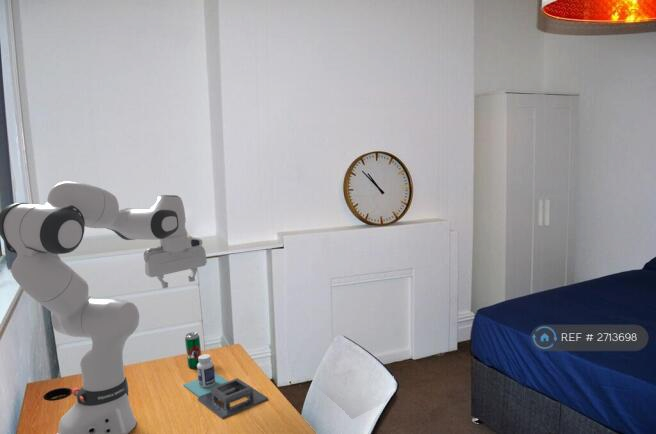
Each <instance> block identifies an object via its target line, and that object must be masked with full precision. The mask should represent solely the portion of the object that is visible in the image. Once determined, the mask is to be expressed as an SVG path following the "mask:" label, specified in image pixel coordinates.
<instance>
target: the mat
mask: <svg viewBox="0 0 656 434" xmlns="http://www.w3.org/2000/svg"><path fill="white" fill-rule="evenodd" d="M214 374H215V384H214V385H213V386H210V387H200V386H199V381H198V378H197V379H194V380H192V381H189V382H186V383H183V384H182V385H183V388H186V389H187V390H189V392H191V393H192V394H193V395H195V396H196V397H197V398H200V397H203V396H205V395H208V394H211V388H213V387H215V386H218V385H221V384H223V383H226V382H229V381H230V380H227V379H226V378H224V377H223V376H222V375H220V374H218V373H217V372H214Z"/></svg>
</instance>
